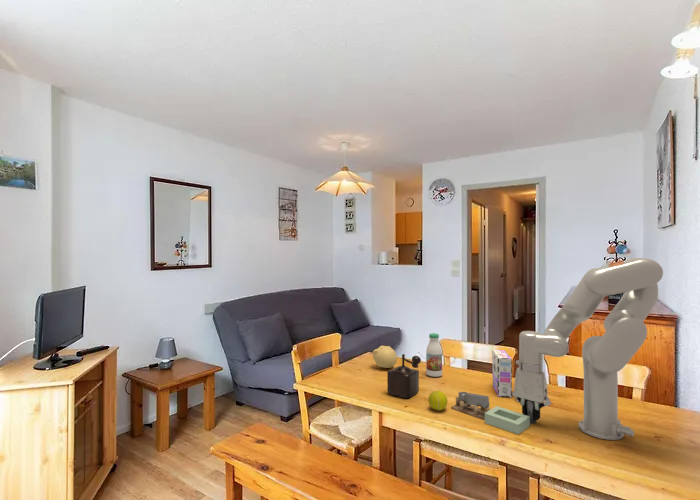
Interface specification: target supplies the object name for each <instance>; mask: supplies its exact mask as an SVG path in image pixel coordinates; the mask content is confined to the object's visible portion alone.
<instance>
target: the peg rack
mask: <svg viewBox="0 0 700 500" xmlns="http://www.w3.org/2000/svg"><path fill="white" fill-rule="evenodd" d="M450 407H451V408H450V409H452V410H453V411H457V412H460V413H463V414H466V415H469V416H472V417H474V418H477V419H480V420H483V421H485V413H486V412H488V411H489V410H491V406H489V407H487V408H485V407H479V406H476V405H469V404H464V401H460V403H459V396H455V404H454V405H452V406H450Z"/></svg>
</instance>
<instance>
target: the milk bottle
mask: <svg viewBox="0 0 700 500" xmlns="http://www.w3.org/2000/svg"><path fill="white" fill-rule="evenodd" d="M428 337H429V341H428V344H427V347H426V351H425V353H426V354H425V364H426V365H425V368H426V369H425V371H426V372H425V373H426V375H428V376H430V377H435V378H437V377H441V376H442V375H443V350H442V346H441V345H440V341H439V340H440V338H439V337H440V334H439V333H436V332H435V333H434V332H431V333H429V336H428Z"/></svg>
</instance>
